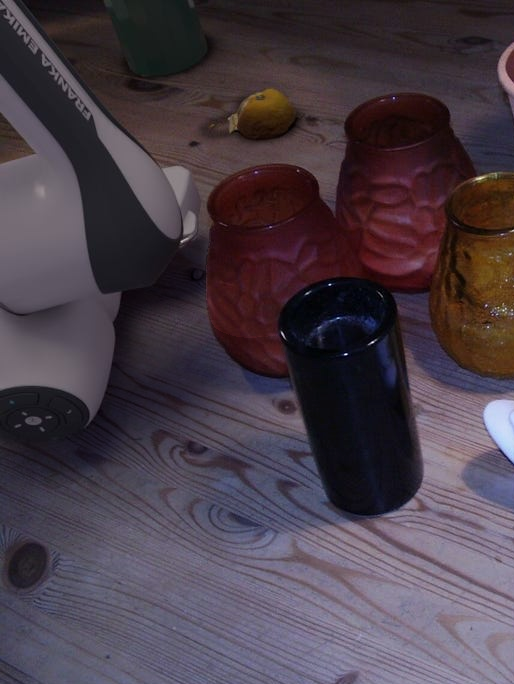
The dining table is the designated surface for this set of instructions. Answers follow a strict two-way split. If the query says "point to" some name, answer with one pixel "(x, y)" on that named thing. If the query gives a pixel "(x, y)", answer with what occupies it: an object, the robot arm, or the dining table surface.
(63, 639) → the dining table surface
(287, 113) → the fruit
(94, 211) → the robot arm
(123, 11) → the holder
